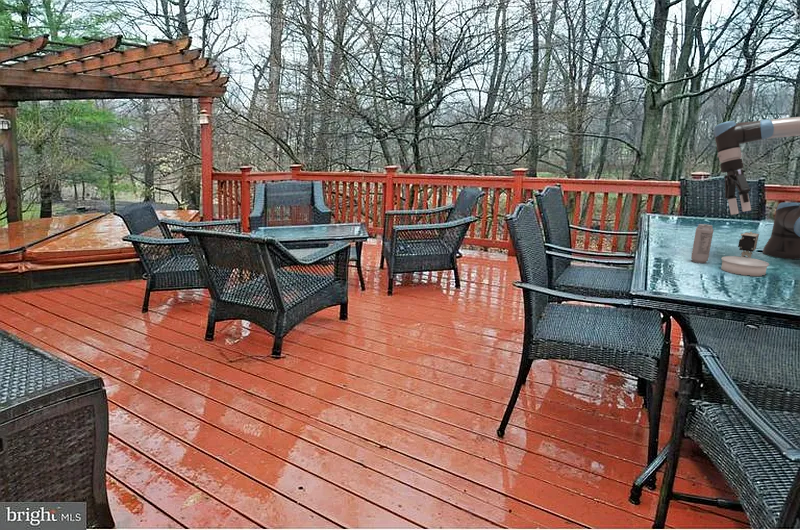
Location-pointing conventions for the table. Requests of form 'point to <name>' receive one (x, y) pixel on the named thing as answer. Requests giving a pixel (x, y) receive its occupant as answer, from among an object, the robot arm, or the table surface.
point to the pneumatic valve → (748, 243)
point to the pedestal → (744, 265)
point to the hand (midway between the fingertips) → (740, 212)
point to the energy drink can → (702, 243)
